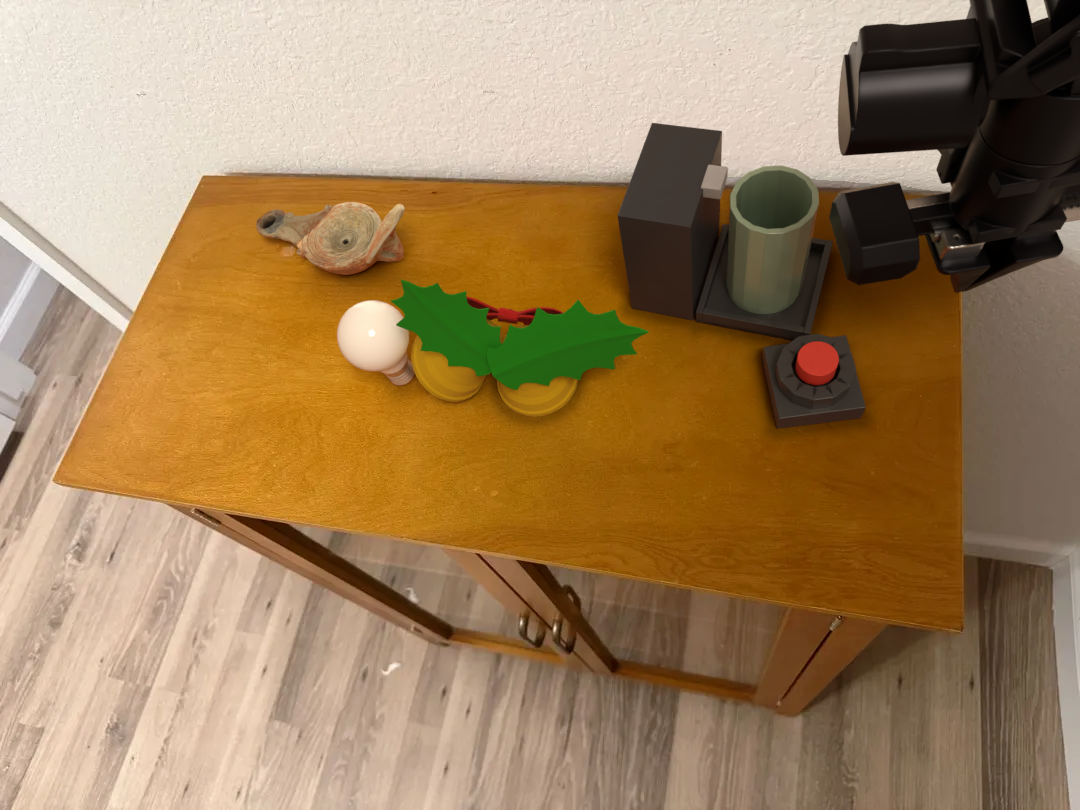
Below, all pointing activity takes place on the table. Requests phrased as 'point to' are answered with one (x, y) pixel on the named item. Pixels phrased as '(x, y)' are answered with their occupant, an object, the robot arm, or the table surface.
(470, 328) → the ornament
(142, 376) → the table surface
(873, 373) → the table surface
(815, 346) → the button
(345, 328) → the lightbulb
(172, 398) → the table surface
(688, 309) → the coffee maker
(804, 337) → the button block
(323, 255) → the oil lamp
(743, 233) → the cup
